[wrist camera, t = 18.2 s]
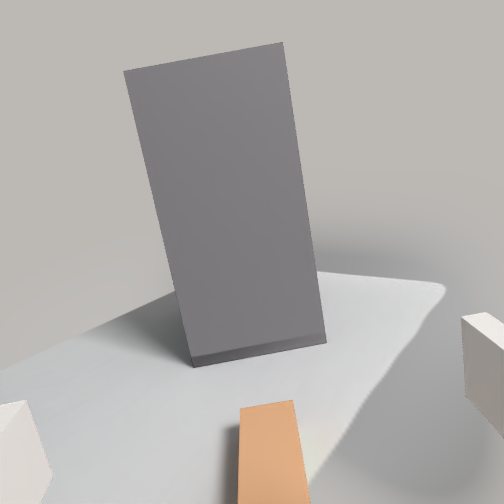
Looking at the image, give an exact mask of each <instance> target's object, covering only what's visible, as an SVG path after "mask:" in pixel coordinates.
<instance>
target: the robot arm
mask: <svg viewBox="0 0 504 504" xmlns="http://www.w3.org/2000/svg"><path fill="white" fill-rule="evenodd" d="M461 326H462V343H463V360H464V375H465V393H466V398H467V399H468V400H469V401H470V402H471V403H472V404H473V405H474V406H475V407H476V408H477V410H478V411H479V412H480V413H481V414H482V415H483V416H484V417H485V418H486V419H487V420H488V422H489V423H490V424H491V425H492V426H493V427H494V428H495V429H496V430H497V431H498V432H499V434H500V435H501V436H502V437H503V438H504V324H503V323H501V322H500V321H498V320H497V319H495V318H494V317H493V316H491V315H490V314H488V313H487V312H483V313H478V314H473V315H468V316H463V317H461ZM52 478H53V474H52V471H51V468H50V465H49V462H48V460H47V457H46V454H45V451H44V448H43V445H42V443H41V440H40V437H39V434H38V431H37V429H36V426H35V423H34V420H33V417H32V414H31V412H30V409H29V406H28V403H27V400H22V401H17V402H12V403H6V404H1V405H0V504H40V502H41V500H42V498H43V496H44V494H45V492H46V490H47V488H48V486H49V484H50V482H51V480H52Z"/></svg>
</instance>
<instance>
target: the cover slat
mask: <svg viewBox="0 0 504 504" xmlns="http://www.w3.org/2000/svg"><path fill="white" fill-rule="evenodd" d="M238 504H311V503H310V497H309V491H308V485H307V479H306V473H305V467H304V461H303V455H302V450H301V444H300V438H299V432H298V426H297V421H296V415H295V410H294V404H293V400H289V401H283V402H277V403H271V404H265V405H259V406H253V407H247V408H241V409H240V433H239V472H238Z"/></svg>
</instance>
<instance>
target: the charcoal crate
mask: <svg viewBox="0 0 504 504" xmlns="http://www.w3.org/2000/svg"><path fill="white" fill-rule="evenodd" d="M123 72H124V76H125V81H126V85H127V89H128V93H129V97H130V101H131V106H132V110H133V115H134V119H135V123H136V127H137V131H138V135H139V140H140V144H141V148H142V153H143V157H144V161H145V165H146V169H147V174H148V178H149V182H150V186H151V190H152V194H153V199H154V203H155V208H156V212H157V216H158V220H159V224H160V229H161V233H162V237H163V241H164V246H165V249H166V254H167V258H168V262H169V266H170V271H171V275H172V279H173V284H174V288H175V292H176V296H177V301H178V305H179V309H180V313H181V317H182V322H183V326H184V330H185V334H186V339H187V343H188V347H189V351H190V355H191V360H192V364H193V368H195V367H200V366H206V365H211V364H216V363H222V362H227V361H232V360H238V359H243V358H248V357H253V356H259V355H264V354H269V353H275V352H280V351H285V350H291V349H296V348H301V347H307V346H312V345H317V344H322V343H327V341H326V334H325V327H324V320H323V313H322V307H321V300H320V293H319V286H318V279H317V272H316V266H315V259H314V252H313V246H312V239H311V231H310V225H309V218H308V211H307V204H306V198H305V191H304V184H303V177H302V170H301V163H300V157H299V150H298V143H297V136H296V129H295V122H294V115H293V108H292V102H291V95H290V88H289V81H288V74H287V67H286V61H285V54H284V47H283V42H280V43H274V44H270V45H263V46H258V47H253V48H247V49H242V50H237V51H231V52H225V53H220V54H215V55H209V56H203V57H198V58H193V59H187V60H182V61H176V62H171V63H165V64H159V65H154V66H149V67H143V68H137V69H132V70H126V71H123Z"/></svg>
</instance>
